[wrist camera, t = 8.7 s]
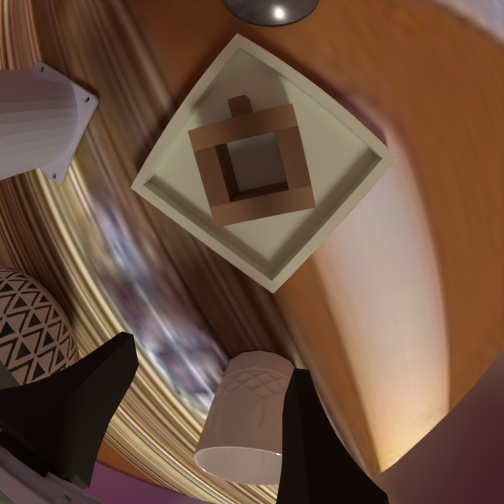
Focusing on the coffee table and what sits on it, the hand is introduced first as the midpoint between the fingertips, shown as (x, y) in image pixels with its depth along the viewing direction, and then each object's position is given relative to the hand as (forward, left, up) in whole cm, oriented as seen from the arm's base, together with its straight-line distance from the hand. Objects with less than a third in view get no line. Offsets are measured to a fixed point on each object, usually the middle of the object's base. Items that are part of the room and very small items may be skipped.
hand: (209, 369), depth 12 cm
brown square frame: (-4, +7, -10) cm, 12 cm away
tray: (-4, +6, -10) cm, 12 cm away
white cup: (+8, -8, -10) cm, 15 cm away
